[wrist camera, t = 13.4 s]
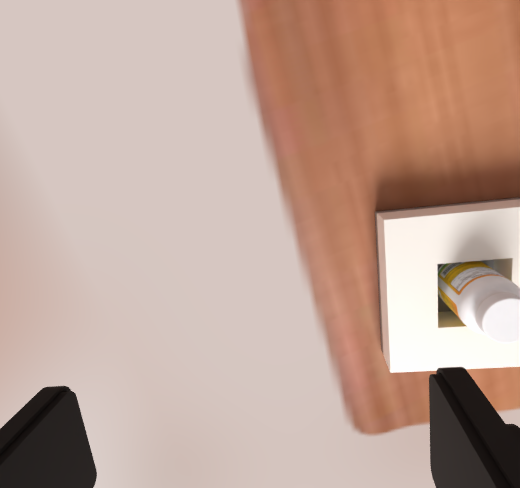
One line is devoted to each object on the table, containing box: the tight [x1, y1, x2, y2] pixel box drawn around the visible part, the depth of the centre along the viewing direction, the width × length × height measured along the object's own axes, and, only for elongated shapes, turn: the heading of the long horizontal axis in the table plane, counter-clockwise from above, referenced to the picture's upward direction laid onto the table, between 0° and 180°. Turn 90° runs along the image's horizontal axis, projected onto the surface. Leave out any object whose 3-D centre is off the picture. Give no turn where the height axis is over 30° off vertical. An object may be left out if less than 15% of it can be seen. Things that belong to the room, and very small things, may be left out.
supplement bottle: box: [438, 261, 520, 343], centre depth 35 cm, size 5×5×10 cm
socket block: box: [375, 197, 520, 373], centre depth 39 cm, size 16×16×4 cm
